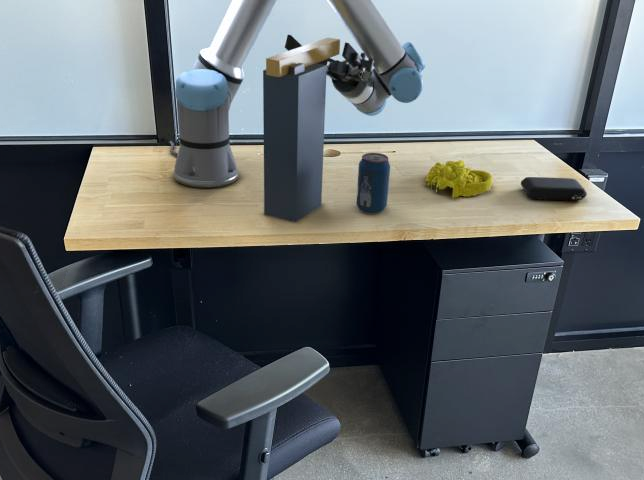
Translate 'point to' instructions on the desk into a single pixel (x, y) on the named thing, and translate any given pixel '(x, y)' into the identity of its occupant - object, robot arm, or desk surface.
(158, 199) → the desk surface
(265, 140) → the door post
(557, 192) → the carrying case
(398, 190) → the desk surface
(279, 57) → the bar
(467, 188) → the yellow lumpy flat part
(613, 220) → the desk surface
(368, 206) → the soda can
